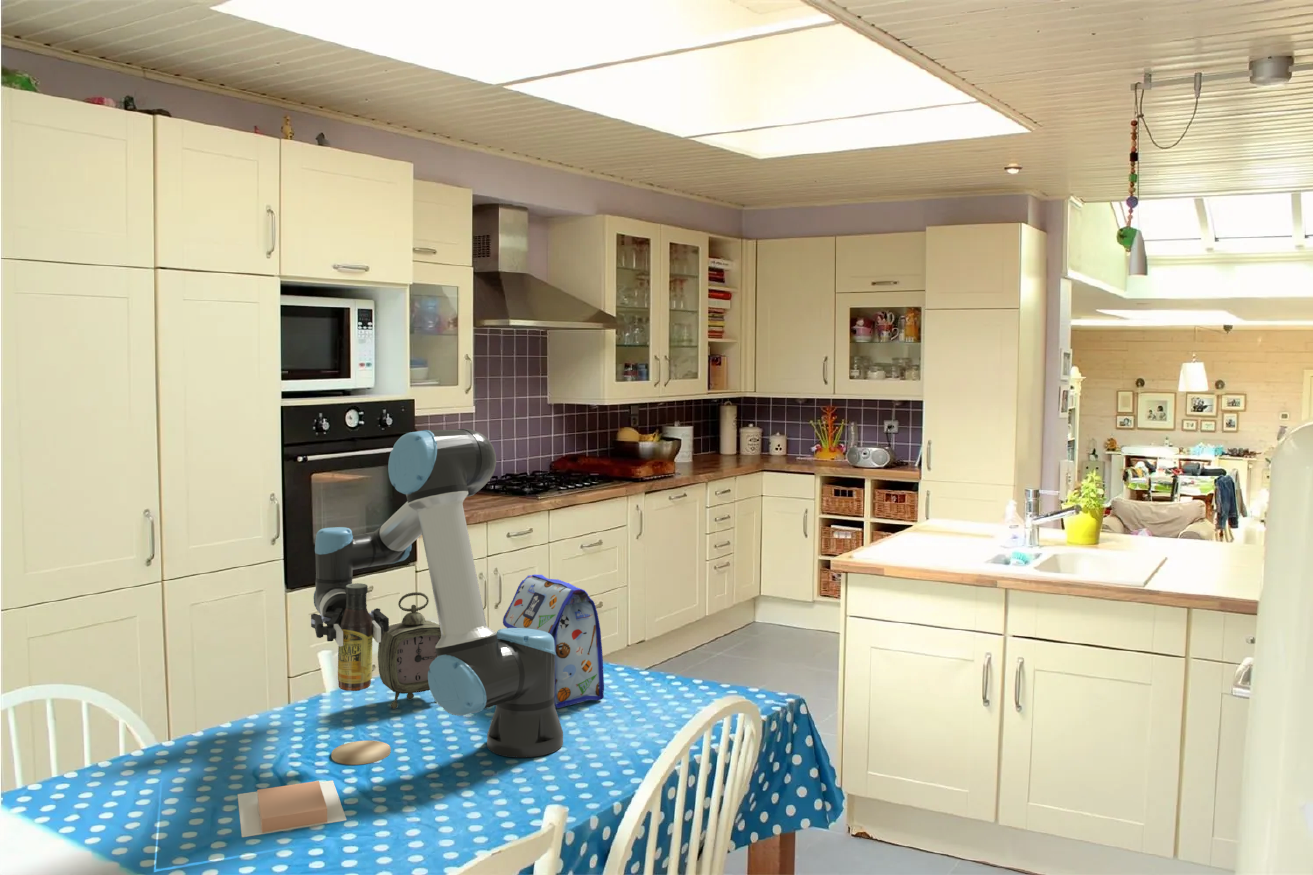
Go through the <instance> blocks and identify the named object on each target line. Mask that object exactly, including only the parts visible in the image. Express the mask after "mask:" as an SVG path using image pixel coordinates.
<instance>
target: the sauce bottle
mask: <svg viewBox="0 0 1313 875" xmlns="http://www.w3.org/2000/svg"><path fill="white" fill-rule="evenodd" d="M368 591H369V588H368V584H366V583H358V582H357V583H352V584H348V585H346V589H345V593H346V609H345V612H344V615H343V618H342V622H341V625H340V628H341V629H342V631H343V646H338V645H337V647H338V648H337V650H338V651H337V652H338V654H337V680H338V681H337V682H338V688H339V689H340V690H343V691H347V692H351V691H352V692H358V691H362V690H366V689H368V688H370V686H371V684H372V678H373V634H372V618H371V616H370V614H369V613H370V612H369V611H368V608H367V605H368V604H367V594H368Z"/></svg>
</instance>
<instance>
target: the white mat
mask: <svg viewBox="0 0 1313 875" xmlns="http://www.w3.org/2000/svg"><path fill="white" fill-rule="evenodd" d="M319 783H320V787H321V790H322V793H323V796H324V800H325V803H326V806H327V822H326V823H320V824H314V825H307V826H301V827H295V828H289V829H283V830H277V831H271V832H264V833H263V832H262V829H261V822H260V816H259V809H258V800H257V791H250V792H244V793H237V802H238V803H237V805H238V814H239V823H240V832H241V834H240V835H241V838H246V837H253V836H259V835H265V834H271V833H279V832H282V831H283V832H285V831H289V830H296V829H303V828H309V827H314V826H320V825H327V824H332V823H339V822H345V821H347V817H346V814H345V811H344V808H343V806H342V803H341V800H340V796H339V794H338V791H337V788H336V786H335V783H334V780H326V781H319Z"/></svg>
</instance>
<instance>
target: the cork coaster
mask: <svg viewBox="0 0 1313 875" xmlns="http://www.w3.org/2000/svg"><path fill="white" fill-rule="evenodd" d="M391 749H392V748H391V746H390V745H389V744H388V743H386V742H383V741H379V740H358V741H357V740H356V741H351V742H347V743H343V744H341V745H339V746H337V747H335V748H334V749H333V750H331V760H332V761H334V762H335V763H338V764H342V765H348V766H349V765H352V766H353V765H354V766H355V765H357V766H358V765H368V764H374V763H376V762H379V761H382V760H385V759H386V758H388V757H389V756H390V754H391V751H392V750H391Z"/></svg>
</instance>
